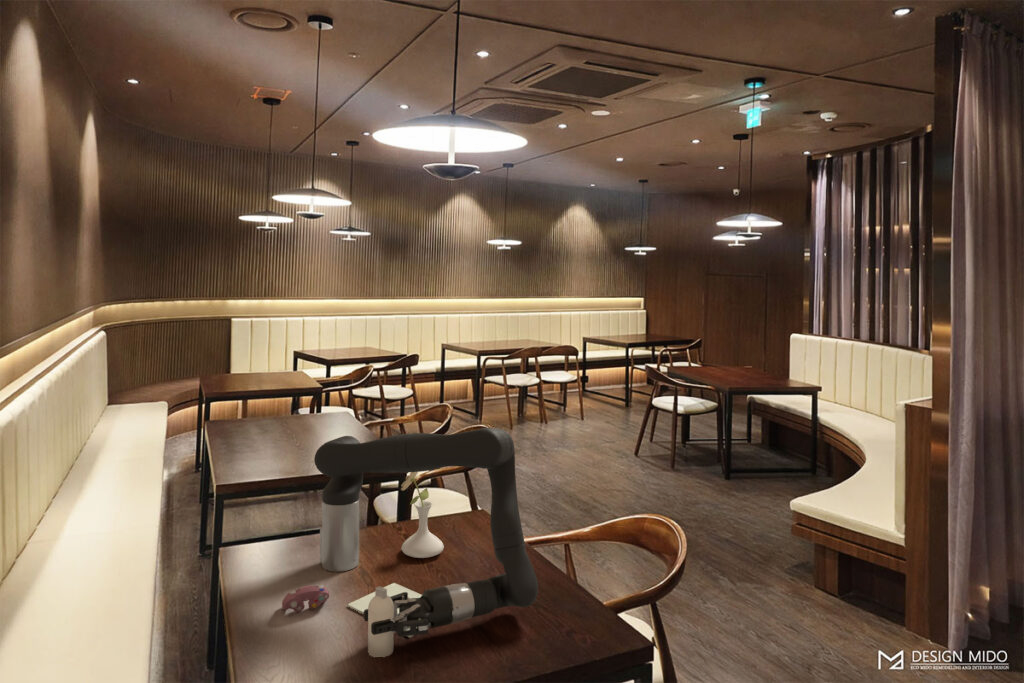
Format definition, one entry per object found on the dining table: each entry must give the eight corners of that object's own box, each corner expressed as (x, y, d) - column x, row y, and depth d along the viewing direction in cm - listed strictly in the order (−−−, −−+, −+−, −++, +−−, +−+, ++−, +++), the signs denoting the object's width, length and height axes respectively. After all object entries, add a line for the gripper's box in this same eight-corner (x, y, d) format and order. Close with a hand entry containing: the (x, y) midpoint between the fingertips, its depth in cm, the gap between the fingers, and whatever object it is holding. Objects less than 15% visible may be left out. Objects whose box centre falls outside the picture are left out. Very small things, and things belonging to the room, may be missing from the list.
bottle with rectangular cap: (362, 651, 130) (362, 589, 129) (381, 641, 134) (382, 580, 133) (379, 660, 127) (380, 597, 126) (398, 649, 131) (399, 587, 130)
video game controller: (283, 622, 144) (285, 601, 140) (280, 604, 147) (282, 583, 144) (329, 612, 148) (332, 591, 145) (325, 595, 152) (328, 575, 148)
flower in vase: (421, 541, 186) (423, 455, 184) (452, 552, 179) (454, 462, 177) (387, 556, 175) (389, 465, 173) (418, 568, 169) (420, 473, 166)
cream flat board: (347, 606, 148) (347, 604, 148) (393, 585, 159) (393, 582, 159) (409, 637, 136) (409, 635, 136) (455, 611, 147) (455, 609, 147)
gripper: (435, 573, 143) (358, 588, 135) (462, 602, 130) (378, 621, 122) (435, 606, 144) (358, 623, 136) (461, 638, 131) (378, 659, 123)
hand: (368, 622), depth 129 cm, fingers closed on bottle with rectangular cap, 5 cm apart
